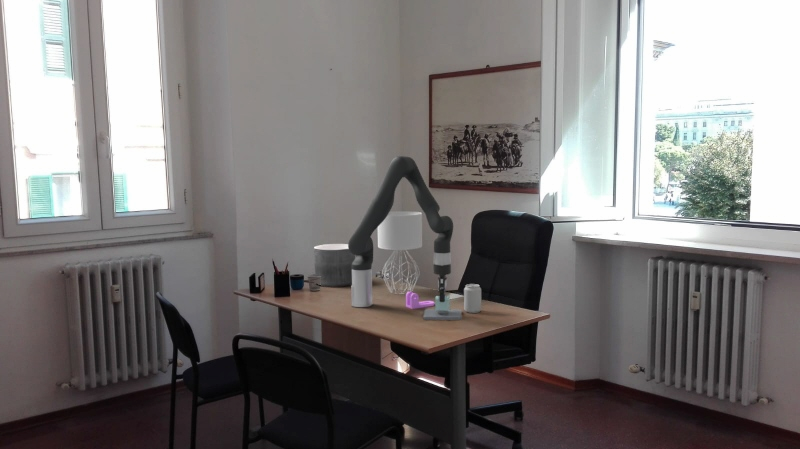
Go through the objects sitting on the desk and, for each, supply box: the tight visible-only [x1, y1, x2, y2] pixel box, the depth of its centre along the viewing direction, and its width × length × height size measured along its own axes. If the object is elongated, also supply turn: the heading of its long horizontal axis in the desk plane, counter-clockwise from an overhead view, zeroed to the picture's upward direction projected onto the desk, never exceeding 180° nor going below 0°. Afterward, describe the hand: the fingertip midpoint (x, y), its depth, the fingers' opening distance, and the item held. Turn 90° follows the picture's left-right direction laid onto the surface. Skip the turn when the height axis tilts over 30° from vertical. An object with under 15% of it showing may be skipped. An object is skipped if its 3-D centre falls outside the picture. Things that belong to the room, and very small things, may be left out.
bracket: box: [405, 290, 435, 310], centre depth 302 cm, size 13×6×7 cm, turn 117°
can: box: [463, 283, 482, 314], centre depth 290 cm, size 8×8×12 cm
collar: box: [434, 295, 451, 311], centre depth 283 cm, size 6×6×5 cm
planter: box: [313, 243, 356, 288], centre depth 357 cm, size 22×22×20 cm
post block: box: [422, 308, 462, 321], centre depth 283 cm, size 16×14×10 cm
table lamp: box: [377, 210, 423, 295], centre depth 332 cm, size 22×22×40 cm
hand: (442, 299), depth 283 cm, fingers open, 8 cm apart
